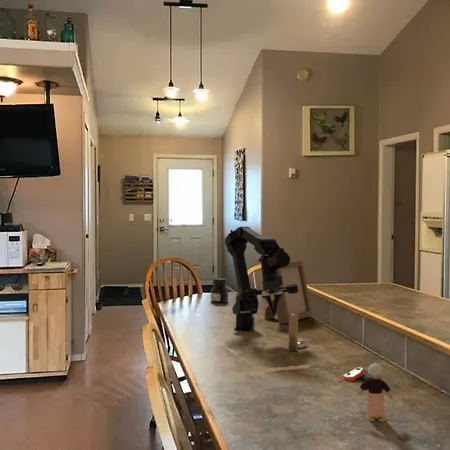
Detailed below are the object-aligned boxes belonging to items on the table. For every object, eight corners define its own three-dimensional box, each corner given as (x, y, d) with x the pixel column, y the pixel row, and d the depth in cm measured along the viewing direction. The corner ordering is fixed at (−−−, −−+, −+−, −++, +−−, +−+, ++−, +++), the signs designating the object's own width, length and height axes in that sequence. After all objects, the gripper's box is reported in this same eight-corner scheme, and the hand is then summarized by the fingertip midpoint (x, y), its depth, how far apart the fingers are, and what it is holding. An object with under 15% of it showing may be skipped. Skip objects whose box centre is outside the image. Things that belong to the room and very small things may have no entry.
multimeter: (319, 389, 141) (320, 376, 141) (311, 375, 153) (311, 363, 153) (386, 389, 141) (386, 376, 141) (372, 375, 153) (373, 363, 153)
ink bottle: (207, 301, 274) (208, 278, 274) (223, 300, 278) (223, 277, 278) (215, 304, 265) (215, 280, 265) (231, 303, 269) (231, 279, 269)
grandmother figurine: (387, 415, 121) (389, 361, 121) (393, 422, 117) (395, 366, 117) (354, 415, 121) (356, 361, 121) (359, 422, 117) (360, 366, 117)
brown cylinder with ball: (283, 350, 174) (283, 314, 173) (289, 343, 184) (289, 309, 183) (302, 352, 172) (303, 316, 171) (307, 345, 182) (308, 310, 181)
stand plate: (263, 342, 188) (263, 336, 188) (300, 339, 193) (300, 333, 193) (288, 357, 169) (288, 350, 169) (329, 353, 174) (329, 346, 174)
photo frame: (312, 317, 235) (313, 261, 234) (287, 325, 218) (288, 265, 217) (283, 313, 244) (284, 259, 243) (257, 320, 227) (258, 262, 226)
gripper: (242, 271, 184) (246, 316, 181) (295, 265, 182) (301, 310, 179) (245, 276, 195) (249, 318, 191) (295, 270, 193) (300, 313, 189)
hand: (274, 315), depth 187 cm, fingers closed
